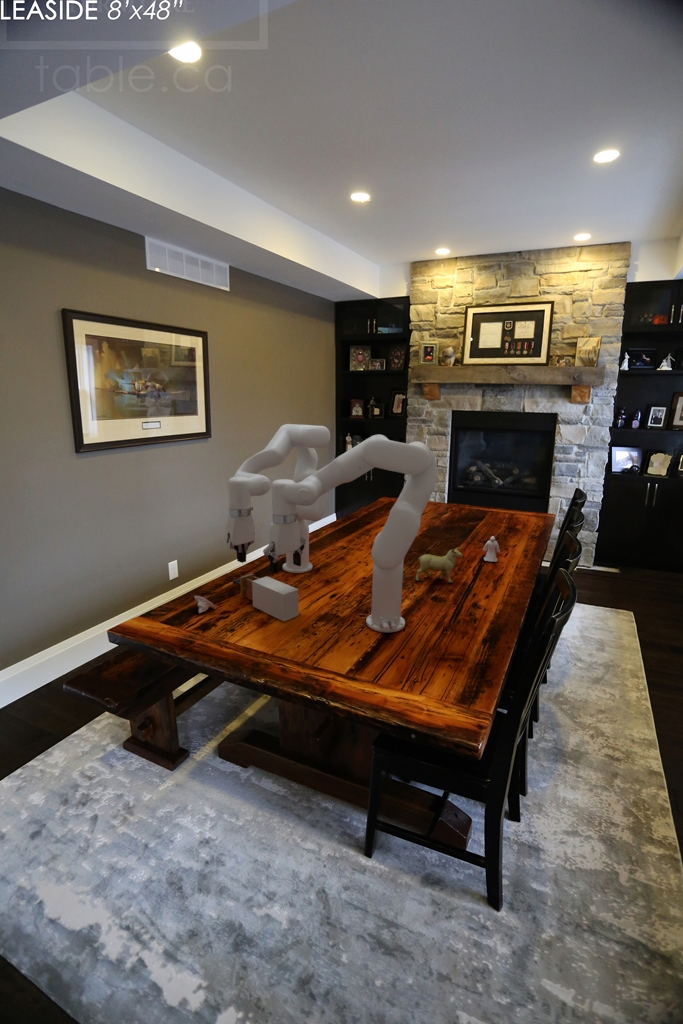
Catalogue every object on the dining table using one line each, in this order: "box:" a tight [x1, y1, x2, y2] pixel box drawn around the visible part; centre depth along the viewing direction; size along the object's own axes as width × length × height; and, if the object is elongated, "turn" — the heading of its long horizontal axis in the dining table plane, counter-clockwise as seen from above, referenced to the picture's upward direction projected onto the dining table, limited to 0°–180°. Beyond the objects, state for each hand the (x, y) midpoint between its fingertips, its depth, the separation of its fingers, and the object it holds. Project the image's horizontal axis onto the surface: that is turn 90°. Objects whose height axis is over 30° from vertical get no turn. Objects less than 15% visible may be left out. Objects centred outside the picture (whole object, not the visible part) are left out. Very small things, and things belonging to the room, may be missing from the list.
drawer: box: [232, 573, 261, 601], centre depth 177 cm, size 21×5×8 cm, turn 47°
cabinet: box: [252, 575, 300, 622], centre depth 170 cm, size 16×6×9 cm, turn 47°
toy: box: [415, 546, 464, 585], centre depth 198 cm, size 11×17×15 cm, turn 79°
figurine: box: [482, 535, 501, 563], centre depth 223 cm, size 8×8×12 cm
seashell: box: [193, 595, 217, 614], centre depth 168 cm, size 8×5×8 cm
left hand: (241, 561), depth 180 cm, fingers closed
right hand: (286, 568), depth 163 cm, fingers open, 9 cm apart
